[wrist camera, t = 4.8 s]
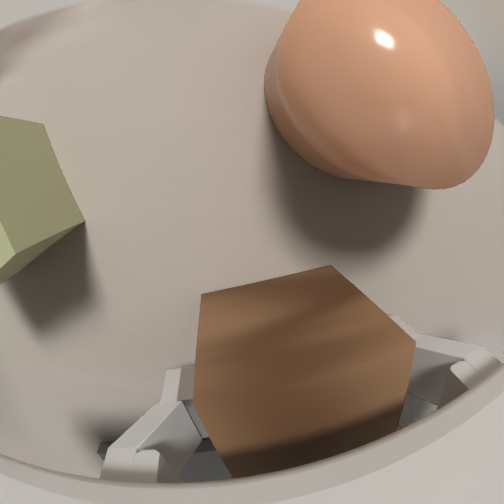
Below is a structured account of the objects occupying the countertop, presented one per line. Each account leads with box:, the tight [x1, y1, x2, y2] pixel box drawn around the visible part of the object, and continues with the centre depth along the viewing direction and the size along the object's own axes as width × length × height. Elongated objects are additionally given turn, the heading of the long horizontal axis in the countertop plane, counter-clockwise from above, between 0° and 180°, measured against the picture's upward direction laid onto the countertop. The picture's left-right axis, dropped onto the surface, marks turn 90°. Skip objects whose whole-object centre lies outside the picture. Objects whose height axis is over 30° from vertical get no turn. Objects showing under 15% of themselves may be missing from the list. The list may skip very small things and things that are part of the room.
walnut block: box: [193, 265, 416, 479], centre depth 8 cm, size 4×4×5 cm
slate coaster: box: [97, 439, 233, 483], centre depth 12 cm, size 7×7×1 cm
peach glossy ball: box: [264, 0, 494, 189], centre depth 6 cm, size 6×6×4 cm
